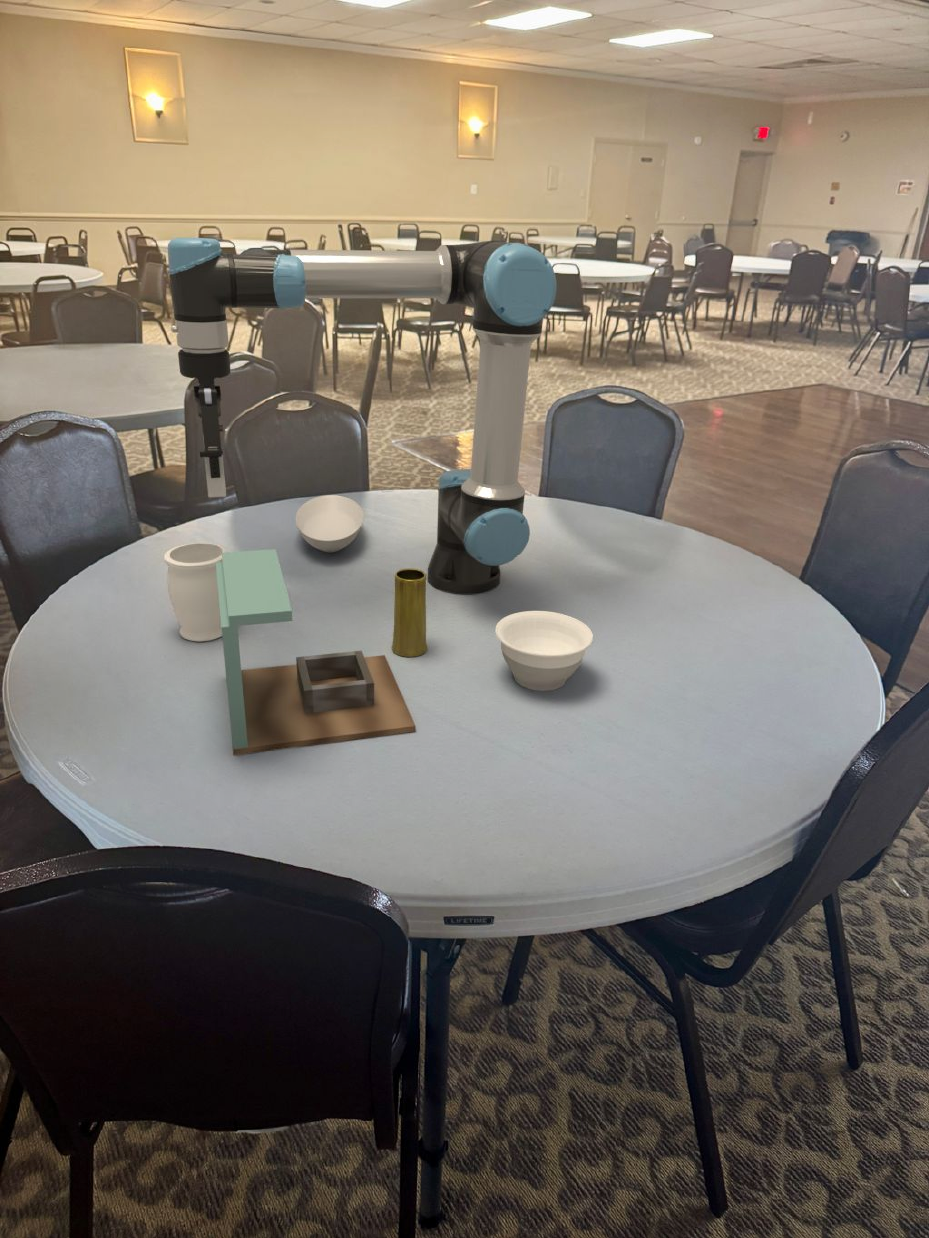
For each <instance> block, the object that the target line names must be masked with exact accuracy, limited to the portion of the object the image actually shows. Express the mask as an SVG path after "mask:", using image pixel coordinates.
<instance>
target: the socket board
mask: <svg viewBox="0 0 929 1238" xmlns="http://www.w3.org/2000/svg"><path fill="white" fill-rule="evenodd" d="M295 658H296V661H295V662H296V663H295V664H285V665H278V666H276V665H275V666H267V667H265V666H264V667H257V668H246V669H241V673H242V685H243V697H244V708H245V720H246V732H247V744H248V748H240V749H233V748H232V753H233V755H232V756H239V755H246V754H253V753H263V752H269V751H277V750H278V751H279V750H285V749H292V748H300V747H308V746H316V745H323V744H331V743H337V742H338V743H339V742H347V741H355V740H361V739H368V738H369V739H371V738H377V737H384V736H385V737H386V736H392V735H401V734H406V733H407V734H408V733H414V732H416V724H415V722H414V719H413V717H412V715H411V713H410V710H409V708H408V705H407V703H406V701H405V699H404V696H403V694H402V691H401V690H400V687H399V685H398V682H397V680H396V677H395V676H394V674H393V671H392V669H391V666H390V664H389V662H388V659H387V657H386V655H382V654H381V655H373V656H364V653H363V650H355V651H354V650H353V651H344V652H334V653H324V654H314V655H304V656H296V657H295Z"/></svg>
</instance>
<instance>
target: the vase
mask: <svg viewBox="0 0 929 1238" xmlns="http://www.w3.org/2000/svg"><path fill="white" fill-rule="evenodd" d="M426 592H427V573H426V572H425V571H423V570H422V569H418V568H414V567H413V568H410V567H409V568H402V569H398V570H397V571H396V572H395V574H394V609H393V611H394V612H393V613H394V614H393V618H394V619H393V621H394V622H393V630H392V631H393V632H392V634H393V635H392V645H391V651H393V653H394V654H396V655H398V656H400V657H404V658H415V657H419V656H422V655H424V654H425V653H426V651H427V650H428V646H427V605H426V602H427V598H426V595H427V594H426Z"/></svg>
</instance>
